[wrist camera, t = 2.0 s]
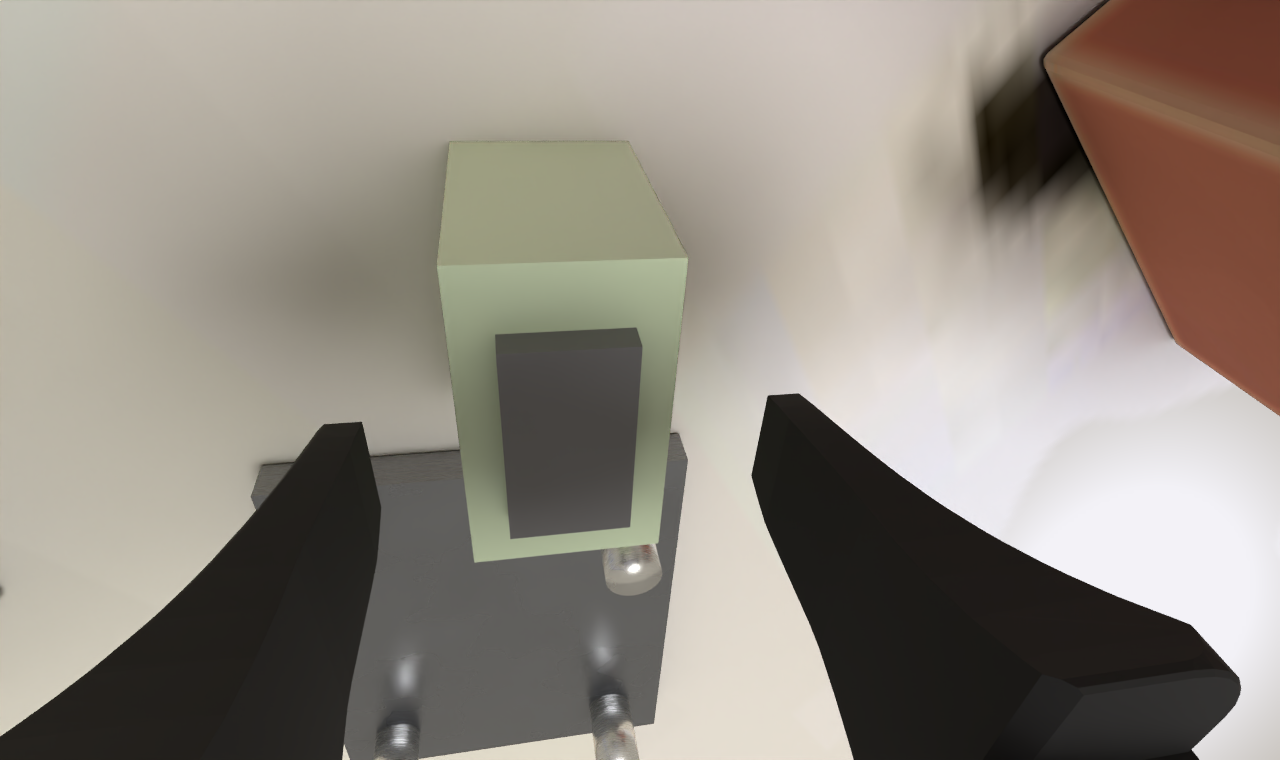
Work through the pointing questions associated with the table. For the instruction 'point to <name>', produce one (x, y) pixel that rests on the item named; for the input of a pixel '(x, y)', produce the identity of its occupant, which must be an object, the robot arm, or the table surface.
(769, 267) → the table surface
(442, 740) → the chassis
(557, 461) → the block
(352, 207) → the table surface
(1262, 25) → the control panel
